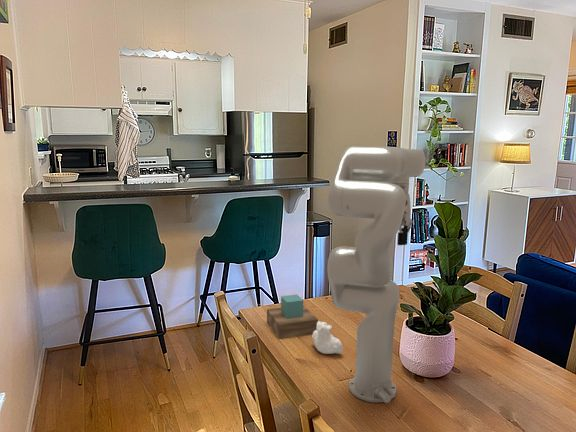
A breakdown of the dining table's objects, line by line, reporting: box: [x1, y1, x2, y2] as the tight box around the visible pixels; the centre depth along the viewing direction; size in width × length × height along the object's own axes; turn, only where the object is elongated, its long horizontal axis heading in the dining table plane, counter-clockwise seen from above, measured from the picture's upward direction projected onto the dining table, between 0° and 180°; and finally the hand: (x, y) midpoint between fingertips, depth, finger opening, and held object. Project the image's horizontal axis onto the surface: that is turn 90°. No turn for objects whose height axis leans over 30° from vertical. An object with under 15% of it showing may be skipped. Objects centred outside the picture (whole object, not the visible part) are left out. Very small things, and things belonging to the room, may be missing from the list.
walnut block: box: [266, 304, 319, 340], centre depth 162 cm, size 14×14×5 cm
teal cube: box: [280, 294, 304, 319], centre depth 161 cm, size 6×6×6 cm
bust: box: [311, 320, 344, 355], centre depth 144 cm, size 12×8×11 cm
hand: (393, 241), depth 147 cm, fingers open, 9 cm apart
